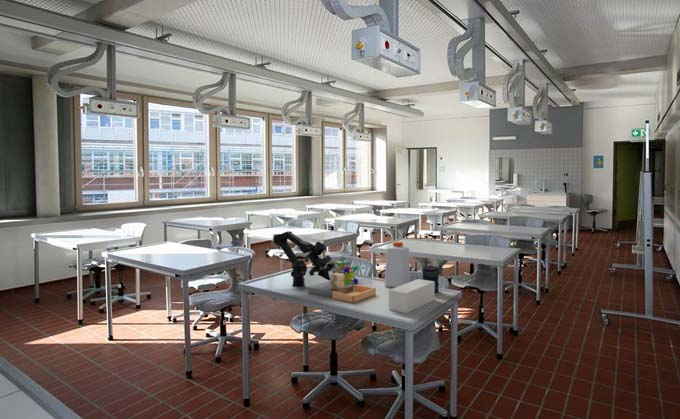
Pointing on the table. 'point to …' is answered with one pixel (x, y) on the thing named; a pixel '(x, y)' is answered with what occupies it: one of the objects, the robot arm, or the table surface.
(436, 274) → the storage jar
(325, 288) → the slate plate
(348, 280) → the molecular model
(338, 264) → the chalk box
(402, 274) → the plastic bottle
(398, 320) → the table surface
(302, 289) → the table surface
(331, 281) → the beech block
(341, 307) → the table surface
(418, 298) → the long white block
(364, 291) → the box
